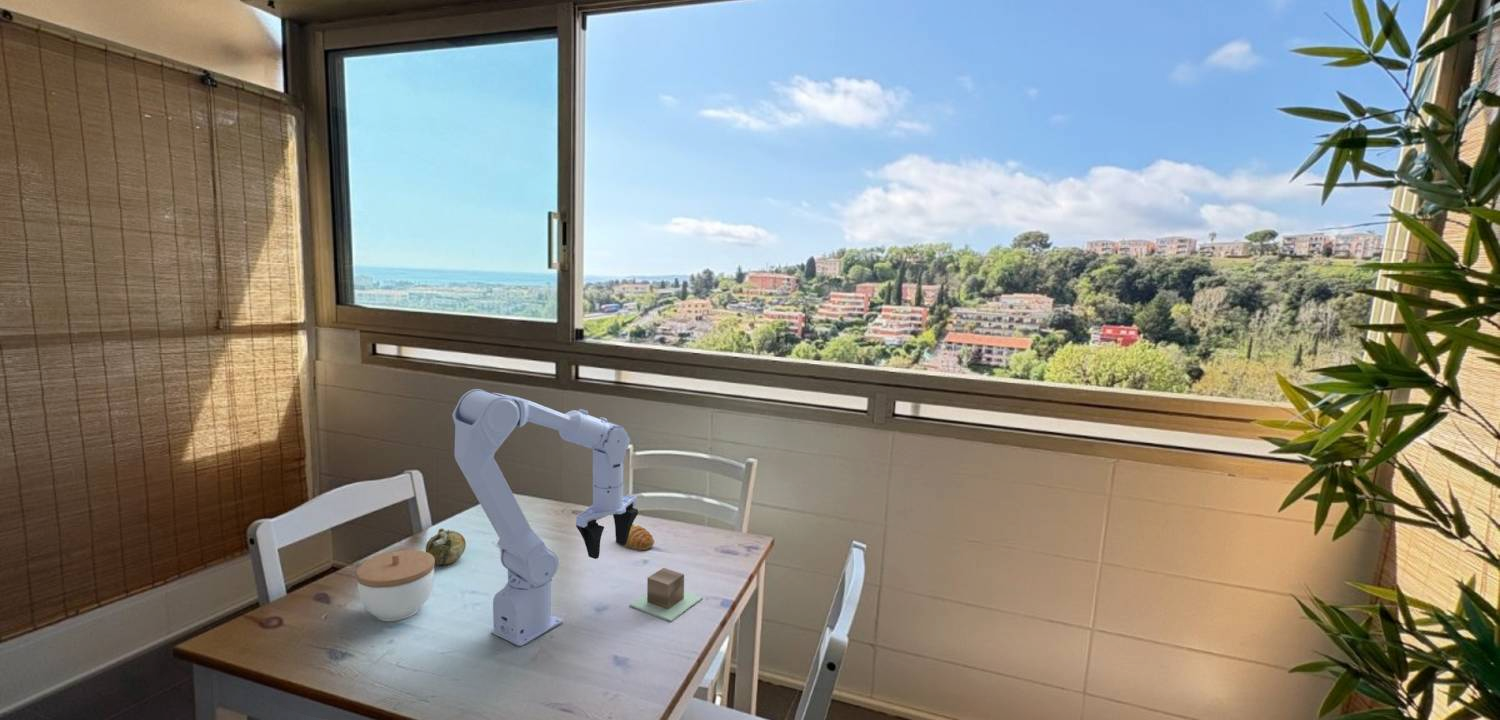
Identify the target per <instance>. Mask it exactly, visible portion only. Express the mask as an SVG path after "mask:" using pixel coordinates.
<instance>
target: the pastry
mask: <svg viewBox="0 0 1500 720" xmlns="http://www.w3.org/2000/svg"><path fill="white" fill-rule="evenodd" d="M654 544H655V540H654V538H653V535H651V533H650V532H649V531H648V530H647V529H646V528H645V527H642V526H641V525H635V524H632V526H631V529H630V532H629V536H628V539H627V543H626V545H622V546H623V547H625V546H626V548H629V549H633V550H636V551H639V550H640V551H645V550H648V549H651V548H652V547H653V546H654Z"/></svg>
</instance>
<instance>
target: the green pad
mask: <svg viewBox="0 0 1500 720" xmlns="http://www.w3.org/2000/svg"><path fill="white" fill-rule="evenodd" d="M701 599H702V600H703V599H704V598H703V596H701V595H698V594H695V593H692V592H689V591H687V590H684V599H682V600H681V601H679V602H678V603H677V604H675V605H674V606H672V607H671V608H670V609H665V608H662V607H659V606H657V605H654V604H651V603H648V602H647V592H646V593H645V594H643V595H641V596H640V597H638V598H637V599H635V600H634V601H632V602H631V603H629V607H631V608H634V609H636V610H639V611H642V612H644V613H647V614H649V615H651V616H654V617H658V618H659V619H663V620H665V621H667V620H669V621H668V622H670V621H672V622H673V621H674V620H675V618H676V617H677V618H678V617H680V616H681V615H682V614H681V613H683V612H684V611H685V612H687V611H688V610H690V607H691V606H692V607H693V605H694V604H695V603H696V604H698V603H699V602H701V601H702V600H701ZM698 601H699V602H698ZM697 602H698V603H697ZM696 604H695V605H696ZM695 605H694V606H695ZM692 607H691V608H692ZM687 609H688V610H687ZM686 610H687V611H686ZM685 612H684V613H685ZM684 613H683V614H684ZM680 614H681V615H680ZM679 615H680V616H679ZM677 618H676V619H677Z"/></svg>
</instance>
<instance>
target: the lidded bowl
mask: <svg viewBox="0 0 1500 720" xmlns="http://www.w3.org/2000/svg"><path fill="white" fill-rule="evenodd" d="M435 565H436V564H435V559H434V557H433V556H432V555H431V554H430V553H428V552H426V551H424V550H419V549H418V550H417V549H416V550H415V549H409V550H407V549H406V550H398V551H392V552H388V553H383V554H380V555H377V556H375V557H372V558H369V559H368V560H367V561H364V562H363V563H361V564H360V565H359V567H358V568H357V569H356V571H355V577H356V581H357V591H358V595H359V599H360V602H361V604H362V605H363V607H364V609H365V610H366V611H367V612H368V613H370V615H373V616H374V617H376V618H377V619H378V620H379V621H382V622H397V621H401V620H405V619H408V618H410V617H412V616H414V615H416V614H417V613H418V612H419V611H420V610H421V607H422V606H423V605H424V604H425V603H426V602H427V600H428V599H429V597H430V595H431V593H432V590H433V588H434V583H435V582H434V580H435Z"/></svg>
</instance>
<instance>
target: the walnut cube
mask: <svg viewBox="0 0 1500 720" xmlns="http://www.w3.org/2000/svg"><path fill="white" fill-rule="evenodd" d="M646 588H647V592H646V593H647V602H648V603H651V604H654V605H657V606H659V607H662V608H665V609H670V608H671V607H672V606H674V605H675V604H677V603H678V602H679V601H681V600H682V599H684V591H685V574H684V573H682V572H678V571H676V570H671V569H668V568H666V567H663V568H661V569H659V570H658V571H656V572H654V573H653V574H651V575H649V576H648V577H647V587H646Z"/></svg>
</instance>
